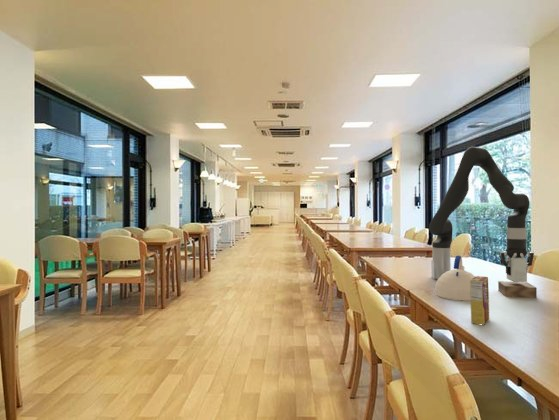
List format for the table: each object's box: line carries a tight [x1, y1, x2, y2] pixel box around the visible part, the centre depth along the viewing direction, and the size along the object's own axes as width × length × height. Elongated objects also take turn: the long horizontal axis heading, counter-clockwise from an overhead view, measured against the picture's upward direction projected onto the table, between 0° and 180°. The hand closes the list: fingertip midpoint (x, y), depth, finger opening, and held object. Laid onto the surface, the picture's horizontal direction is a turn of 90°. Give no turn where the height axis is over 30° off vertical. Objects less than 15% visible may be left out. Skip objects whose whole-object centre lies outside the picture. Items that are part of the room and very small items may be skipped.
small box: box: [505, 255, 528, 282], centre depth 173 cm, size 8×6×10 cm
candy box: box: [470, 275, 490, 326], centre depth 134 cm, size 9×4×15 cm, turn 140°
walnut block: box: [497, 280, 538, 299], centre depth 173 cm, size 12×12×5 cm
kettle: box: [434, 255, 476, 302], centre depth 173 cm, size 20×21×18 cm
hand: (516, 274), depth 173 cm, fingers closed on small box, 5 cm apart
